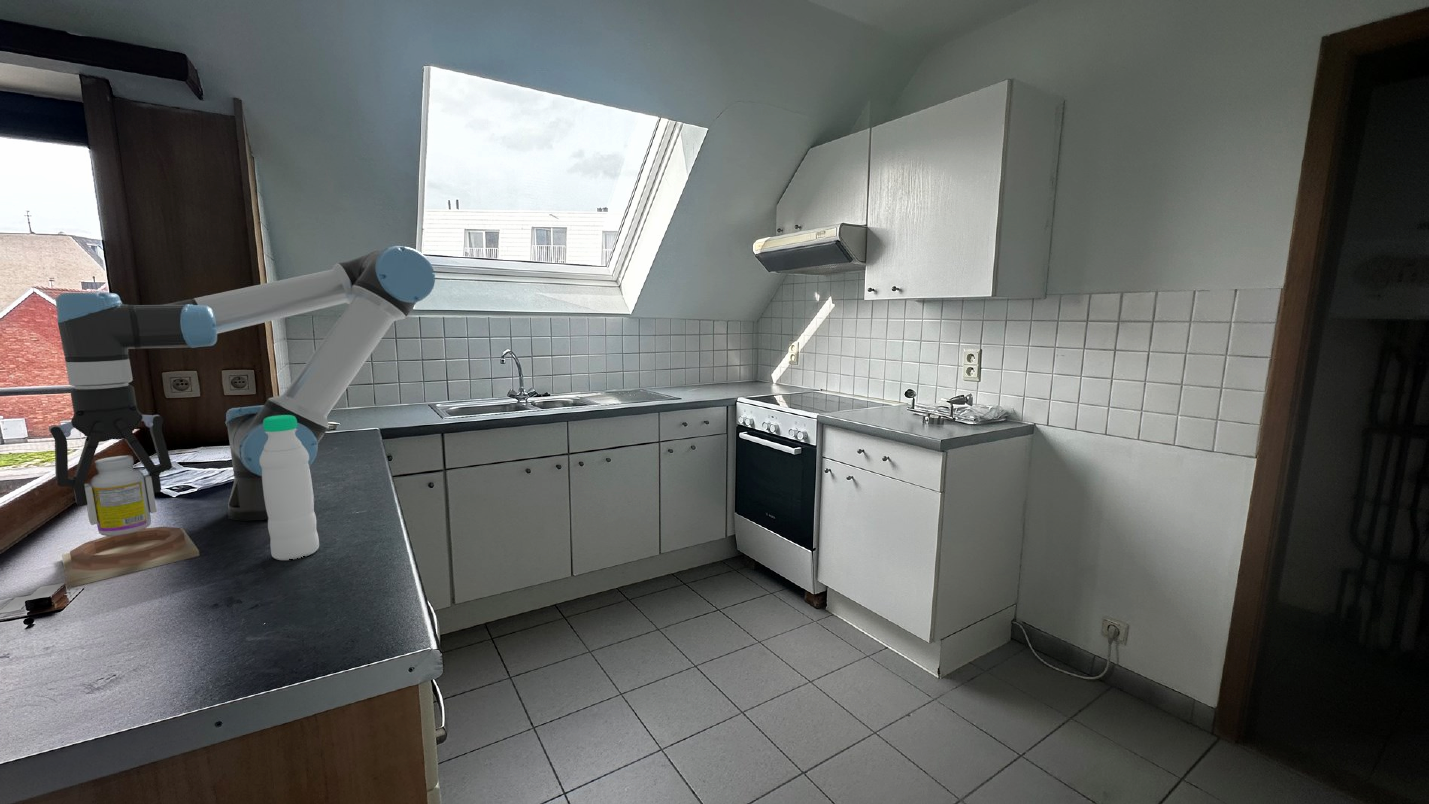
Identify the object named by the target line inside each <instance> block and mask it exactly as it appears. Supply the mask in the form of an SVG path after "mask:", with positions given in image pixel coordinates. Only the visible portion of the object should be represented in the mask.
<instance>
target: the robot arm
mask: <svg viewBox="0 0 1429 804" xmlns="http://www.w3.org/2000/svg"><path fill="white" fill-rule="evenodd" d="M435 282H436V274H435V270H434V267H433V265H432V263H431V261H430V260H429V259H428V258H427V257H426V256H425V255H424V253H422V252H420V251H418V250H416V249H415V248H412V247H409V246H402V245H394V246H389V247H387V248H384V249H378V250H375V251H372V252H371V251H370V252H369V253H366V254H365V255H362V256H360V257H359V256H358V257H356V258H354V259H351V260H346V261H343V262H338V263H335V264H334V265H333V266H332V268H331V269H329V270H328V269H327V270H323V271H319V272H314V273H310V274H309V273H308V274H304V275H299V276H294V277H289V278H285V279H280V280H275V281H271V282H266V283H261V284H257V285H251V286H247V287H243V288H237V289H233V290H227V291H223V292H219V293H213V294H210V295H203V296H200V297H194V298H192V299H191V298H190V299H185V300H180V301H176V302H172V303H163V304H146V305H145V304H141V305H139V304H137V305H135V304H126V303H125V304H124V303H123V302H122V301H121V297H120V296H119V295H118V294H117V293H114V292H113V293H112V292H63V293H60V294H59V295H58V296H57V297H56V298H55V304H56V316H57V325H58V331H59V335H60V342H61V345H62V350H63V356H64V360H65V366H66V367H65V368H66V374H67V380H68V381H67V382H68V385H69V386H72V387H74V388H72V389H71V390H70V391H69V392H70V397H71V398H70V399H71V404H72V410H73V411H72V412H73V417H72V418H71V420H70V421H69V422H65V423H63V424H58V425H55V424H53V425H50V426H48V427H49V428H48V430H49V432H50V435H51V436H52V437H53V439H54V463H55V464H54V465H55V467H54V468H55V469H54V470H55V483H56V484H57V486H59V487H61V488H62V487H63V488H64V487H65V488H66V487H67V488H69V487H70V488H72V489H73V492H74V499H75V503H76V504H77V506H78V507H84V506H86V511H87V517H88V521H89V524H90V526H93V525H97V524H98V522H97V516H96V510H95V504H94V498H93V492H92V487H91V485H90V483H86V482H87V478H88V476H89V473H90V469H91V466H92V463H93V460H94V458H95V454H96V451H97V448H98V447H99V444H100V443H102V442H103V443H104V442H107V441H110V440H125V442H126V443H127V444H128V446H129V448H130V449H131V450H132V452H133V453H134V454H135V456H136V457H137V458H138V460H139V461H140V463H141V464H142V465H143V467H144V468H145V470H146V471H147V474H143V475H144V479H145V486H146V492H147V498H148V505H149V511H150V514H154V513H157V512H158V511H157V506H156V500H155V493H156V494H157V493H160V492H161V491H162V486H161V484H162V483H161V477H160V476H161V474H162V473H163V472H165V471H169V470H171V469H173V468H172V467H173V464H172V461H171V457H170V454H169V452H168V448H167V444H166V441H165V437H164V434H163V430H162V428H163V422H164V418H163V417H162V416H161V415H159V414H153V415H152V414H150V415H149V414H142V413H141V412H140V411H139V409H138V406H137V400H136V393H135V387H134V386H133V385H132V384H130V383H132V381H134V379H133V374H132V366H131V360H130V355H129V350H131V349H132V350H140V349H167V348H168V349H169V348H170V349H172V348H173V349H174V348H191V349H195V348H200V347H212V346H215V344H216V343H217V341H218V334H221V333H226V332H231V331H234V330H238V329H242V328H246V327H252V326H256V325H260V324H263V323H267V322H272V321H275V320H276V321H277V320H280V319H284V318H288V317H289V318H290V317H292V316H297V315H301V314H305V313H309V312H314V311H317V310H321V309H325V308H330V307H334V306H337V305H343V304H347V305H348V306H347V307H346V309H345V310H344V311H343V313H342V314H341V315H340V317H338V319H337V320H336V322H335V323H334V325H333V326H332V327H331V328H330V330H329V332H328V333H327V334H326V336H325V337H324V338H323V340H322V341H321V342H320V343H319V345H318V346H317V348H316V349H315V351H314V352H313V353H312V354H311V356H310V357H309V359H308V360H306V361H307V362H305V364H304V365H303V367H302V368H301V369H300V371H299V372H298V373H297V375H296V376H295V377H294V379H293V380H292V382H291V383H290V384H289V386H288V387H287V389H285V391H284V392H283V394H281V395H277V396H273V397H269V398H268V399H267V401H265V403H264V404H262V405H252V406H243V407H232V408H230V409H227V411H226V413H225V419H226V420H225V422H224V423H225V426H226V427H227V434H228V440H229V449H230V455H231V463H232V470H233V479H234V480H233V485H232V488H231V492H230V495H229V499H228V503H227V515H228V518H229V519H231V520H234V521H241V522H242V521H243V522H245V521H251V522H252V521H263V520H268V519H269V518H268V515H267V511H266V506H265V500H264V492H263V483H262V467H261V466H260V463H259V459H260V456H261V453H262V451H263V450H264V445H265V443H266V442H267V440H268V435H267V434H266V433H265V432H266V431H265V430H264V427H263V420H264V419H265V418H267V417H271V416H278V415H292V416H295V417H296V419H297V428H296V429H297V430H296V431H295V435H296V437H297V438H298V439H299V440H300V441H301V443H302V445H303V446H304V447H305V449H306V450H307V452H308V454H309V461H308V464H309V467H310V466H311V465H312V464H313V462H314V461H315V459H316V457H317V454H318V449H319V445H318V444H319V443H320V441H321V440H322V438H323V437H324V435H325V434H326V433H327V431H328V429H329V428H330V425H329V422H328V421H329V420H328V415H329V414H330V412H331V411H332V409H333V408H334V407H335V405H336V404H337V402H338V401H339V399H340V398H341V397H342V395H343V394H344V393H345V391H346V390H347V388H348V387H349V386H350V384H351V382H352V381H353V380H354V378H355V377H356V375H357V374H358V373H359V371H360V370H361V368H362V367H363V366H364V364H365V363H366V362H367V360H368V358H369V357H370V356H371V354H372V353H373V352H374V350H375V349H376V347H377V346H378V344H379V343H380V341H381V340H382V339H383V338H384V336H385V335H386V333H387V332H388V330H389V329H390V327H391V326H392V324H393V323H394V322H396V321H401V320H405V319H406V318H407V317H408V315H409V314H410V312H411V311H412V309H413V308H414V307H415V305H416V304H417V303H418V302H422V301H423V300H424V299H426V298H427V297H428V296H429V295H430V294H431V293H432V292H433V289H434V287H435ZM141 422H143V423H144V425H145V426H146V427H147V428H149V431H150V435H151V438H152V442H153V445H154V450H155V452H156V457H157V459H158V462H159V463H158V464H155V463H154V462H153V460H152V458H151V457H150V455H149V454H148V453H147V452H146V449H144V447H143V446H142V444H141V443H140V441H139V440H138V438H137V437H136V435H135V433H134V431H135V430H136V428H137V427H138V426H139V424H140V423H141ZM73 429H76V430H77V431H79V432H80V433H81V434H83V435H84V436H86V437H85V440H84V443H83V448H82V450H81V451H82V452H81V453H80V454H81V455H80V458H79V460H78V463H77V466H76V469H75V473H74V475H73V477H69V461H68V460H69V459H68V457H69V456H68V441H67V438H69V437H70V436H71V435H72V434H71V431H72V430H73ZM313 499H314V504H315V494H314V492H313Z"/></svg>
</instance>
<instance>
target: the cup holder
mask: <svg viewBox="0 0 1429 804" xmlns="http://www.w3.org/2000/svg"><path fill="white" fill-rule="evenodd" d="M61 556H62V557H61V558H62V562H63V570H64V574H65V580H66V581H65V582H66V585H67V586H68V587H70V588H74V587H77V586H81V585H86V584H89V583H93V582H98V581H102V580H106V579H110V578H114V577H117V576H122V575H126V574H131V573H134V572H138V571H143V570H147V569H151V568H156V567H158V566H163V565H167V564H168V565H169V564H171V563H175V562H180V561H183V560H184V561H185V560H188V559H192V558H195V557H196V558H197V557H200V550H199V549H198V547H197V546H196V545H195V543H194V542H193V540H192V539H191V538H190V536H189V535H188V534H187V532H186V531H185V529H184V528H181V527H175V526H174V527H173V526H155V527H147V528H145V529H143V530H140V531H137V532H134V533H130V534H124V535H117V536H103V537H99V538H96V539H92V540H90V541H87V542H84V543H82V544H80V545H79V546H77V547H75V548H73V549H71V550H70V551H69V552H68V553H64V554H61ZM67 586H66V587H67ZM68 587H67V588H68Z"/></svg>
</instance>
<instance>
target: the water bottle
mask: <svg viewBox="0 0 1429 804" xmlns="http://www.w3.org/2000/svg"><path fill="white" fill-rule="evenodd" d="M263 427H264V430H265V431H266V432H265V433H266V434H267V435H268V440H267V442H266V443H265V445H264V450H263V451H262V453H261V456H260V459H259V463H260V466H261V467H262V483H263V492H264V500H265V506H266V511H267V515H268V518H269V519H267V529H268V530H267V531H268V534H269V537H270V542H269V544H270V553H271V556H272V558H273V559H276V560H279V561H290V560H289V559H293V560H298V559H301V557H302V558H304V557H303V556H305V557H308V556H310V555H312V554H314V553H315V552H316V551H317V550H318V549H319V547H320V539H319V534H318V531H317V516H316V513H315V511H314V510H315V509H314V508H315V505H314V504H315V503H314V501H315V498H314V499H313V493H314V489H313V488H314V487H313V482H312V481H313V480H312V474H311V470H310V466H309V464H308V461H309V454H308V452H307V450H306V449H305V447H304V446H303V445H302V443H301V441H300V440H299V439H298V438H297V437H296V435H295V431H296V430H297V429H296V428H297V419H296V417H295V416H292V415H278V416H271V417H267V418H265V419H264V420H263ZM297 558H298V559H297Z"/></svg>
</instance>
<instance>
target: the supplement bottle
mask: <svg viewBox="0 0 1429 804" xmlns="http://www.w3.org/2000/svg"><path fill="white" fill-rule="evenodd" d="M134 464H135V459H134V456H132V455H118V456H110V457H109V456H108V457H104V458H99V459H97V460H95V461H94V466H95V469H96V471H97V473H98V474H96V475H94V476H93V477H92V478H91V479H90V482H89V484H90V485H91V487H92V492H93V498H94V504H95V510H96V516H97V522H98V524H96V526H97V531H98V533H99V534H100V535H101V536H103V537H105V536H117V535H124V534H130V533H134V532H137V531H140V530H143V529H145V528H149V526H151V524H152V517H151V513H150V511H149V505H148V498H147V492H146V486H145V479H144V475H145V474H144V473H143V472H142V471H140V470H138V469H135V468H134Z"/></svg>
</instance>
